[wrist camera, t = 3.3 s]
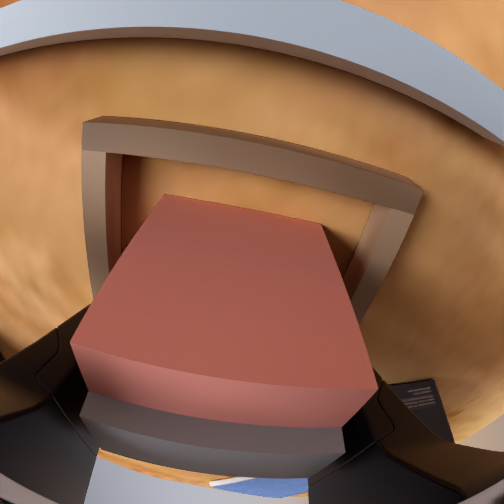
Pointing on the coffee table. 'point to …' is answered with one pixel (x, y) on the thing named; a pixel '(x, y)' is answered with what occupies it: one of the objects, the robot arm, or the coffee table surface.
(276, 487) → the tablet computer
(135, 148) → the frame
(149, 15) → the door edge rail
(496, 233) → the coffee table surface
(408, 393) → the small box
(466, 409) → the coffee table surface
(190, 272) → the block
